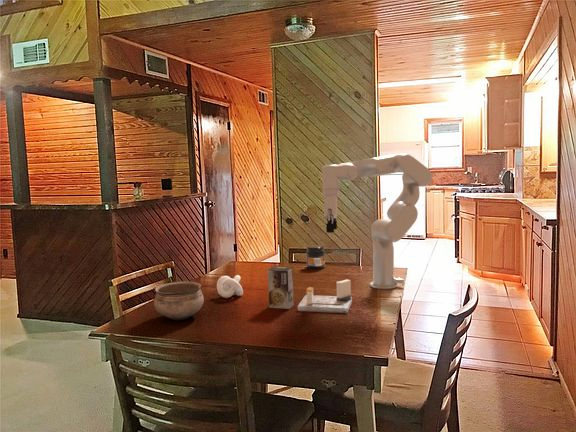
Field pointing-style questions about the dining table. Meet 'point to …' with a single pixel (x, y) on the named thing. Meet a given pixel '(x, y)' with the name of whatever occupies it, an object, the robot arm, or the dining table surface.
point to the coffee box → (280, 287)
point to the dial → (344, 290)
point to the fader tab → (310, 295)
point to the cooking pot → (178, 299)
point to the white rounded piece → (229, 286)
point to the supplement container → (315, 257)
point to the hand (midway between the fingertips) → (331, 230)
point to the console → (325, 304)
